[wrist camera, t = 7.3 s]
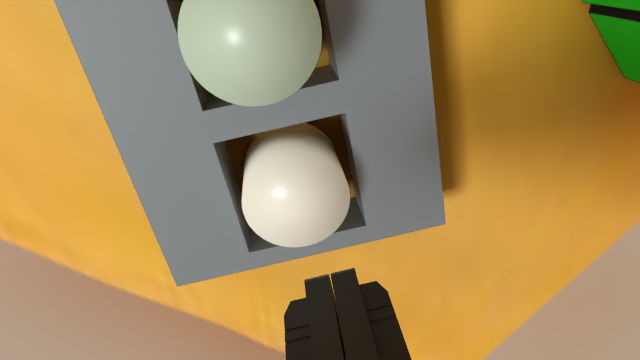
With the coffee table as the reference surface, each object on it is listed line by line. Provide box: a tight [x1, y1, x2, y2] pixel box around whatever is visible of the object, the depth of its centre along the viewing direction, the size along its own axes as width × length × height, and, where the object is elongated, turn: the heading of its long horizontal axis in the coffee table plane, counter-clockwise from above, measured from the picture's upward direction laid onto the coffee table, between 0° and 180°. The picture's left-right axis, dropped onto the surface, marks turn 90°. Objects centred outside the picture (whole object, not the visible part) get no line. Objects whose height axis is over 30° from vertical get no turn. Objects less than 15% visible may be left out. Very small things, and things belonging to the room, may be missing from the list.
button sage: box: [178, 0, 322, 107], centre depth 18 cm, size 5×5×4 cm
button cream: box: [242, 123, 350, 247], centre depth 23 cm, size 5×5×4 cm
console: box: [54, 0, 446, 287], centre depth 20 cm, size 14×23×3 cm, turn 11°
